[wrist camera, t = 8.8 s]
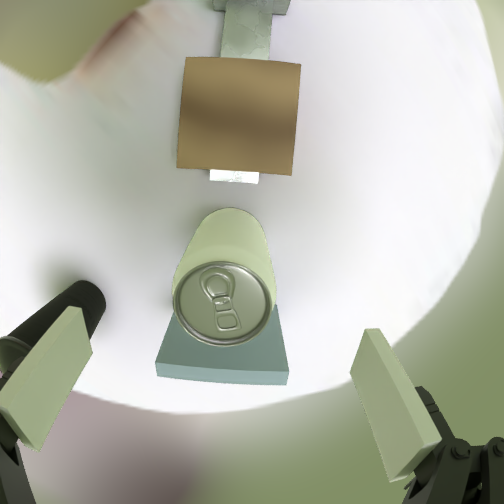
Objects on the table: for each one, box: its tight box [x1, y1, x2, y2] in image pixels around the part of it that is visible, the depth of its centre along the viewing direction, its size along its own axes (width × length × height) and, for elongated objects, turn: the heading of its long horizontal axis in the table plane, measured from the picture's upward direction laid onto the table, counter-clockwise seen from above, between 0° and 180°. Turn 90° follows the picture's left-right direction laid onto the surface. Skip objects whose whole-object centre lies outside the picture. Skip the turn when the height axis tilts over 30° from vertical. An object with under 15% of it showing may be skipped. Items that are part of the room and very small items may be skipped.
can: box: [172, 208, 276, 347], centre depth 22 cm, size 6×6×12 cm
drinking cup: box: [0, 281, 106, 374], centre depth 20 cm, size 8×8×20 cm
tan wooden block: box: [177, 57, 301, 176], centre depth 21 cm, size 8×8×6 cm
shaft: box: [210, 0, 291, 183], centre depth 19 cm, size 18×6×7 cm, turn 175°
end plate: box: [155, 305, 289, 385], centre depth 25 cm, size 2×10×10 cm, turn 85°
